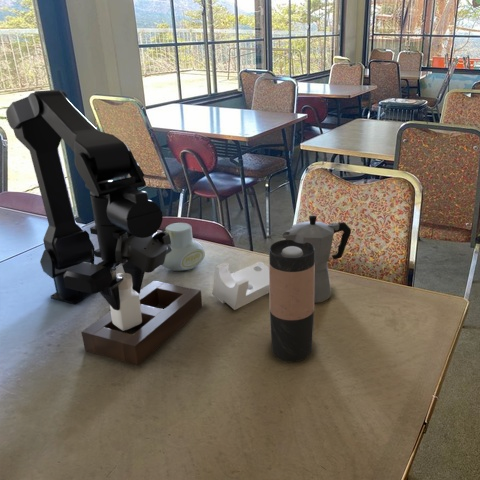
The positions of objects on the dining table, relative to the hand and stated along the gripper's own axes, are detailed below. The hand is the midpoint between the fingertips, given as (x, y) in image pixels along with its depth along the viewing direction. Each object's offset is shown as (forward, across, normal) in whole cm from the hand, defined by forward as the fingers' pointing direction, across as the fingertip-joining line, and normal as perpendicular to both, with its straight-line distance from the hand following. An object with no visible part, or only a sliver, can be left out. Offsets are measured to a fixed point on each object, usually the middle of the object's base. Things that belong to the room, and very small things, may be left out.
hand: (126, 302), depth 84 cm
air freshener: (+8, +29, +9) cm, 31 cm away
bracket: (+8, +23, -12) cm, 27 cm away
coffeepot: (+8, +29, -25) cm, 39 cm away
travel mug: (+8, +8, -28) cm, 30 cm away
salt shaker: (+5, 0, 0) cm, 5 cm away
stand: (+8, +4, 0) cm, 9 cm away
